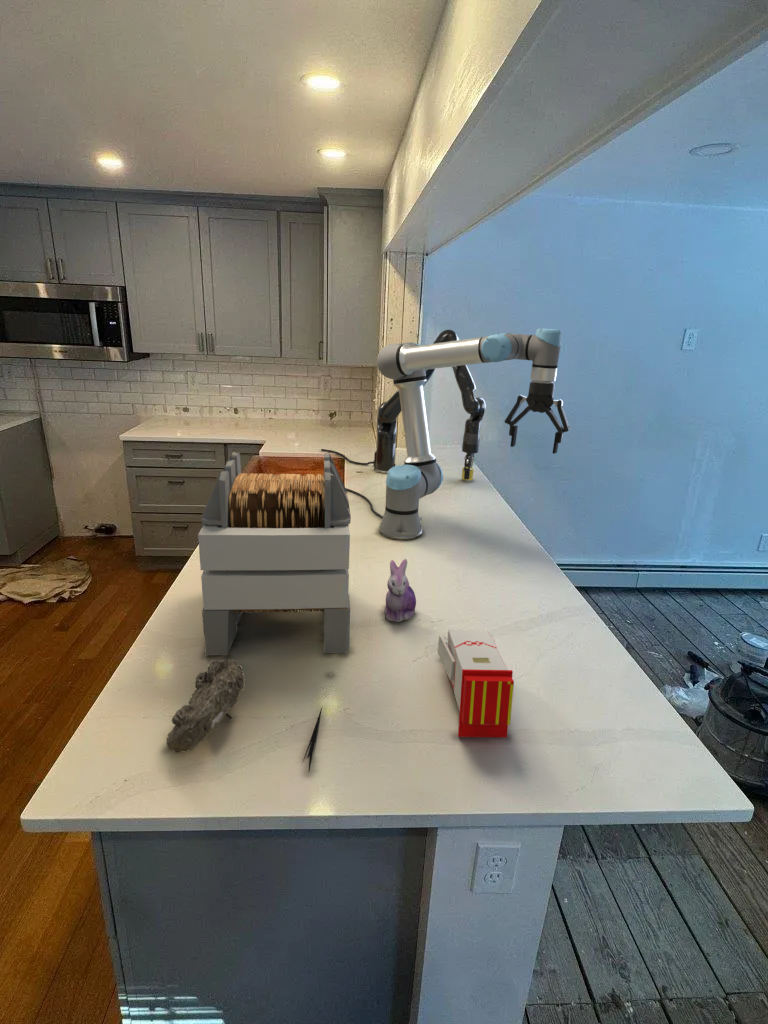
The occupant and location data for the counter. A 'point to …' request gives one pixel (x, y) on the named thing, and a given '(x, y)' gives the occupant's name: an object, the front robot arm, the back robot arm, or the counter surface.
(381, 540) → the counter surface
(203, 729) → the fossil
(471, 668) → the toy
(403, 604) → the figurine
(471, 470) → the cylinder
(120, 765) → the counter surface
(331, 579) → the record crate
